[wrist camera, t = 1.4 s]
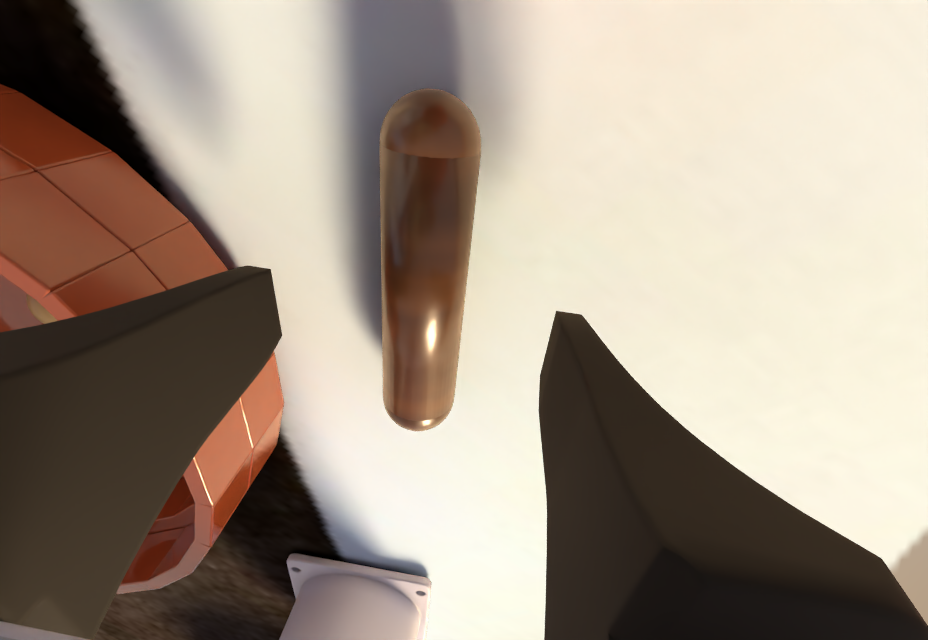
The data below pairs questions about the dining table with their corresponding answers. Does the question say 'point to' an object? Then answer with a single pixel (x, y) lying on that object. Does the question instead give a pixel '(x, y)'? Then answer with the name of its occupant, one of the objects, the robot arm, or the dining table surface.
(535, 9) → the dining table surface
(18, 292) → the bowl
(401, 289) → the stick
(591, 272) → the dining table surface
